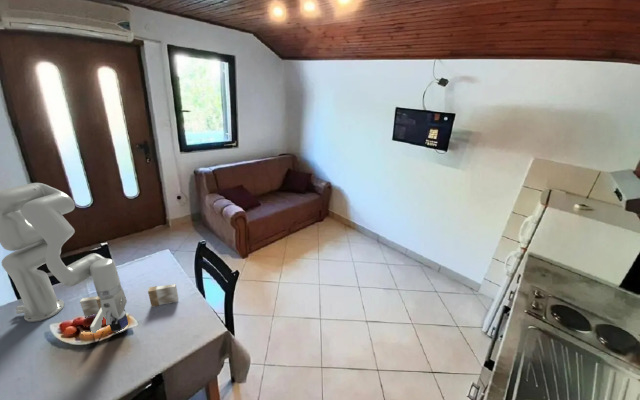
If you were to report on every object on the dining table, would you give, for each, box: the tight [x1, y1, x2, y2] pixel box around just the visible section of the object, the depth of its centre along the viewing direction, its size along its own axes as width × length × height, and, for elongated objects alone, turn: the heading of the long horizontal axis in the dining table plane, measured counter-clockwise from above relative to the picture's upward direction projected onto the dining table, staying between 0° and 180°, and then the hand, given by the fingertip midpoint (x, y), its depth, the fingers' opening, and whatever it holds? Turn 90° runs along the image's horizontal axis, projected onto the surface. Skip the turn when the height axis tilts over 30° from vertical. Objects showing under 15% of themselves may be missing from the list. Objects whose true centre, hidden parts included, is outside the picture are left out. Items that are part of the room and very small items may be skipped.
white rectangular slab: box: [89, 308, 104, 334], centre depth 109 cm, size 14×2×8 cm, turn 20°
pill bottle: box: [112, 309, 129, 334], centre depth 108 cm, size 6×6×10 cm
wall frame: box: [79, 283, 179, 318], centre depth 121 cm, size 36×3×9 cm, turn 109°
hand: (119, 323), depth 109 cm, fingers closed on pill bottle, 5 cm apart
